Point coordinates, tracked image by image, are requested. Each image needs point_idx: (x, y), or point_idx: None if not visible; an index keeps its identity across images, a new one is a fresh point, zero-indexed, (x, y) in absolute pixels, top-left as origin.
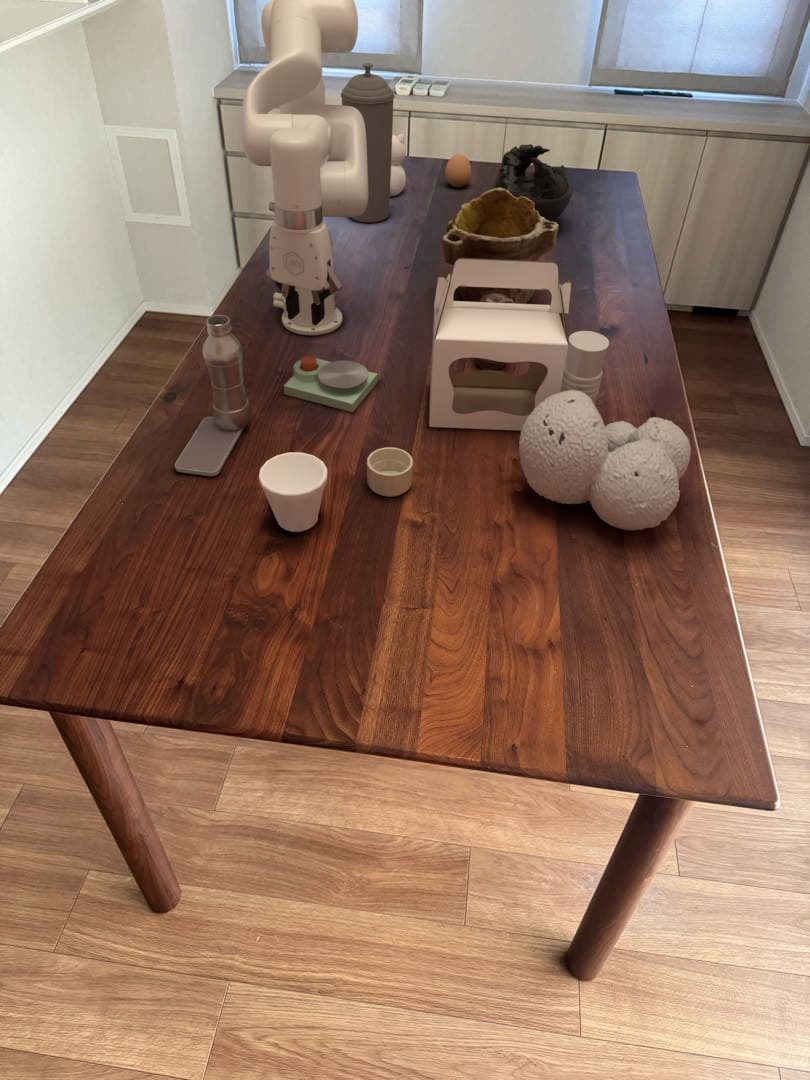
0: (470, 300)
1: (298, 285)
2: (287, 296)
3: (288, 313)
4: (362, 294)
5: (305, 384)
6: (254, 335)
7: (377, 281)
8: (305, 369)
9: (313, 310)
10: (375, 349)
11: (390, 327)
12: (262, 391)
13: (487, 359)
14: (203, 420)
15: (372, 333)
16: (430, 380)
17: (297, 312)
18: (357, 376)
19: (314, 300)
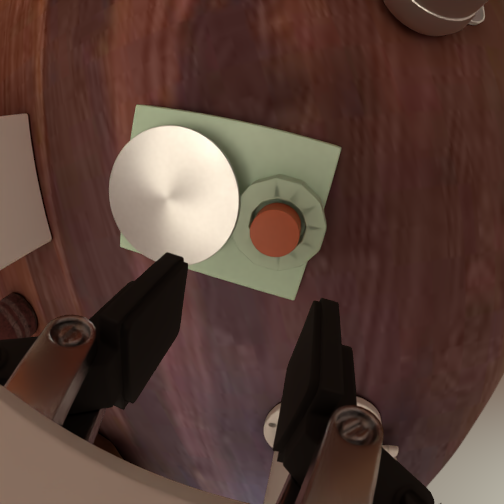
0: (96, 439)
1: (79, 471)
2: (334, 411)
3: (334, 319)
4: (252, 475)
5: (278, 163)
6: (434, 376)
7: (239, 491)
8: (282, 204)
9: (129, 296)
10: (177, 355)
11: (178, 411)
12: (399, 154)
13: (5, 302)
14: (482, 11)
15: (201, 399)
16: (34, 232)
17: (293, 355)
18: (130, 193)
19: (86, 346)
